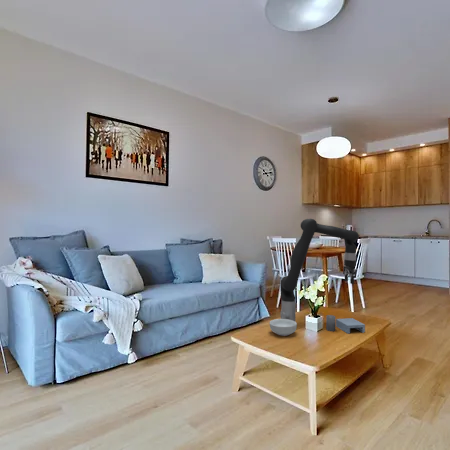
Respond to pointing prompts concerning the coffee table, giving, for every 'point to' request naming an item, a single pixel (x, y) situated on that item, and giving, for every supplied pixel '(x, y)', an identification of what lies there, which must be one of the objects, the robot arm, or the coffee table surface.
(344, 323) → the bench shelf
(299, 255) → the robot arm
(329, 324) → the dark grey cylinder
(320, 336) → the coffee table surface
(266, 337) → the coffee table surface
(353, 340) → the coffee table surface
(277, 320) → the cereal bowl
